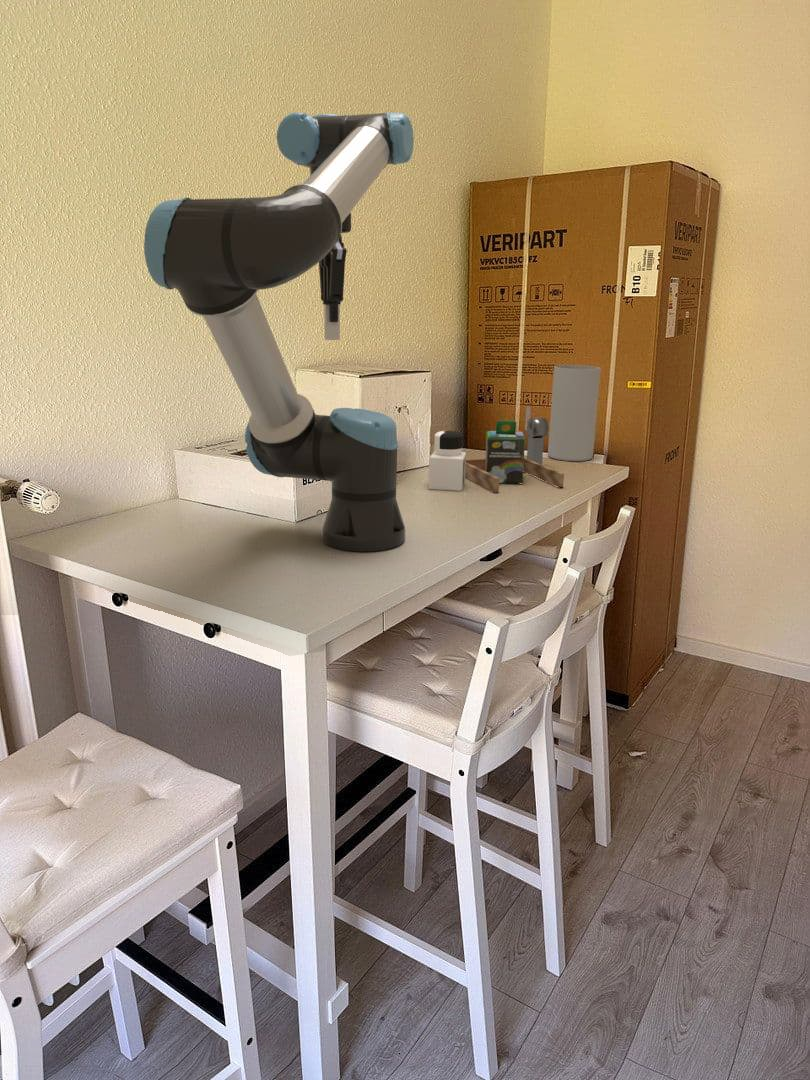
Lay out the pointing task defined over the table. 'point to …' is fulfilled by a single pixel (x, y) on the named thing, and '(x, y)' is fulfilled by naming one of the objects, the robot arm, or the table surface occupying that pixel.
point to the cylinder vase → (573, 412)
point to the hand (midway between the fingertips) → (332, 339)
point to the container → (447, 462)
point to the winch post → (535, 436)
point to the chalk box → (505, 453)
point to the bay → (491, 482)
